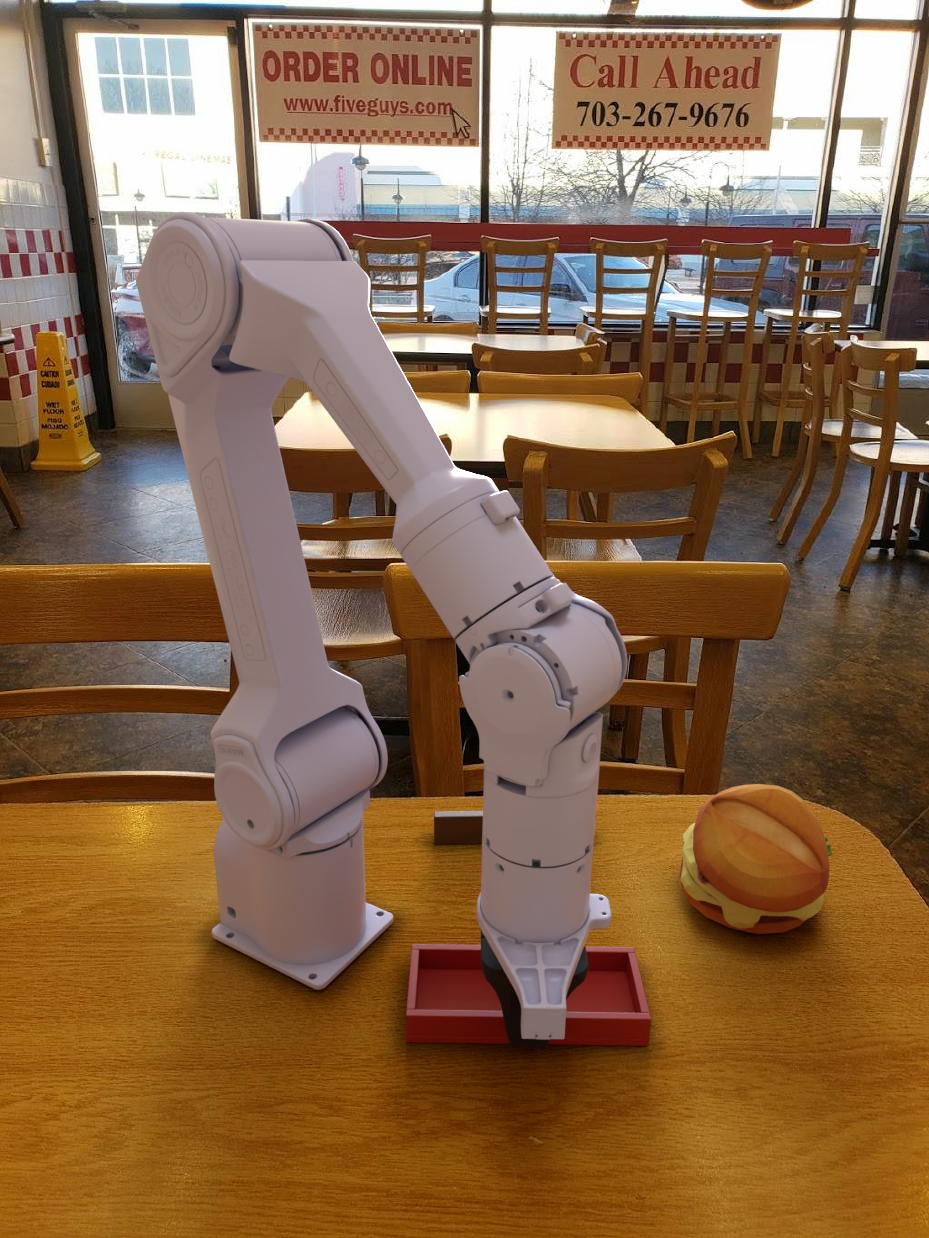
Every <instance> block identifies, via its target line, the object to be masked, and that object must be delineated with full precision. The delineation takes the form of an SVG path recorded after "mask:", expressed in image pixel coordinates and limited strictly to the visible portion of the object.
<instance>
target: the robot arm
mask: <svg viewBox="0 0 929 1238" xmlns="http://www.w3.org/2000/svg"><path fill="white" fill-rule="evenodd" d="M135 284H136V288H137V292H138V295H139V300H140V303H141V308H142V311H143V316H144V320H145V324H146V327H147V333H148V337H149V339H150V344H151V348H152V352H153V355H154V360H155V364H156V368H157V372H158V375H159V379H160V384H161V387H162V390H163V391H164V392H165V393H166V394H167V395H168V401H169V404H170V409H171V413H172V417H173V422H174V426H175V428H176V434H177V438H178V441H179V445H180V449H181V453H182V457H183V461H184V465H185V469H186V473H187V478H188V482H189V486H190V489H191V493H192V498H193V501H194V507H195V509H196V514H197V517H198V518H197V519H198V521H199V525H200V529H201V534H202V538H203V542H204V545H205V549H206V553H207V558H208V561H209V566H210V571H211V573H212V578H213V582H214V586H215V590H216V594H217V598H218V602H219V607H220V610H221V614H222V618H223V622H224V626H225V630H226V635H227V638H228V643H229V646H230V650H231V654H232V658H233V659H232V660H233V662H234V666H235V670H236V674H237V679H238V682H239V683H238V686H237V688H236V691H235V692H234V694H233V695H232V697H231V698H230V700H229V702H228V703H227V705H225V708H224V709H223V710H222V712H221V714H220V716H219V717H218V719H217V720H216V722H215V723H214V725H213V726H212V729H211V730H210V734H209V735H210V739H211V743H212V747H213V751H214V760H215V767H214V777H213V781H214V783H213V790H214V796H215V802H216V804H217V807H218V810H219V812H220V814H221V816H222V820H221V822H220V825H219V826H218V829H217V832H216V835H215V840H214V844H213V845H214V846H213V860H214V871H215V878H216V879H215V880H216V890H217V891H216V892H217V899H218V900H217V901H218V910H219V920H220V922H219V923H218V924H217V925H215V926H214V927H213V928H212V929H211V937H212V938H213V939H214V940H216V941H218V942H220V943H222V944H225V945H226V946H228V947H230V948H232V949H234V950H237V951H238V952H240V953H243V954H244V955H245V956H248V957H250V958H252V959H254V960H255V961H257V962H260V963H262V964H264V965H266V966H267V967H270V968H272V969H274V970H275V971H278V972H279V973H281V974H283V975H286V976H287V977H290V978H292V979H293V980H296V981H298V982H300V983H302V984H303V985H306V986H307V987H309V988H312V989H313V990H317V991H320V990H323V989H325V988H326V987H327V986H328V985H329V984H331V982H332V981H334V980H335V979H336V978H337V977H338V976H339V975H340V974H341V973H342V972H343V971H344V970H345V969H347V967H348V966H349V965H350V964H352V962H354V960H356V959H357V957H359V956H360V955H361V954H362V953H363V952H364V951H366V949H367V948H368V947H370V945H371V944H372V943H373V942H374V941H375V940H376V939H377V938H379V937H380V935H382V934H383V933H384V932H385V931H386V930H387V929H388V928H389V927H390V926H391V925H392V924H393V923H394V915H393V913H392V912H389V911H387V910H384V909H383V908H380V907H378V906H375V905H373V904H370V903H368V902H367V901H366V900H367V899H366V898H367V896H366V895H367V894H366V865H365V837H364V836H365V833H364V815H365V811H366V809H368V808H369V807H370V806H371V789H373V788H374V787H376V786H378V784H379V783H380V782H381V781H382V780H383V779H384V777H385V775H386V773H387V768H388V761H389V760H388V759H389V758H388V757H389V755H388V749H387V744H386V740H385V737H384V735H383V733H382V731H381V729H380V727H379V725H378V724H377V722H376V720H375V719H374V717H373V715H372V714H371V711H370V709H369V707H368V705H367V700H366V697H365V693H364V692H365V691H364V687H363V685H362V684H361V683H360V682H358V681H357V680H356V679H353V678H352V677H349V676H347V675H345V674H343V673H341V672H339V671H337V670H335V669H333V668H331V666H329V662H328V658H327V654H326V650H325V645H324V644H325V643H324V640H323V636H322V631H321V627H320V622H319V617H318V615H317V614H318V613H317V610H316V604H315V600H314V596H313V591H312V587H311V582H310V579H309V574H308V569H307V564H306V560H305V555H304V552H303V547H302V543H301V538H300V534H299V530H298V525H297V521H296V516H295V511H294V508H293V502H292V499H291V494H290V489H289V485H288V480H287V476H286V472H285V468H284V463H283V458H282V453H281V450H280V445H279V441H278V437H277V432H276V427H275V423H274V418H273V414H272V409H273V405H274V404H275V402H276V400H277V399H278V397H279V395H280V394H281V392H282V390H283V388H284V387H285V385H286V383H287V382H288V380H289V379H294V380H299V381H301V382H304V383H305V385H307V387H308V388H309V389H310V391H311V392H312V393H313V394H314V396H315V397H316V399H317V400H318V401H319V403H320V405H322V407H323V408H324V410H325V411H326V412H327V413H328V415H329V416H330V418H331V419H332V420H333V421H334V423H335V424H336V426H337V427H338V428H339V430H340V431H341V432H342V434H343V435H344V436H345V437H346V439H347V441H348V442H349V443H350V444H351V446H352V447H353V449H354V450H355V451H356V452H357V454H358V455H359V456H360V458H361V459H362V460H363V462H364V463H365V464H366V466H367V467H368V469H369V470H370V471H371V473H372V474H373V475H374V477H375V478H376V479H377V481H378V482H379V484H380V485H381V486H382V487H383V489H384V490H385V491H386V493H387V494H388V495H389V497H390V498H391V500H392V501H393V502H394V503H395V505H396V514H395V519H394V526H393V530H392V531H393V532H392V543H393V546H394V547H395V548H396V549H395V550H396V551H397V552H398V554H399V555H400V556H401V559H402V560H403V562H404V563H405V564H406V566H407V568H408V569H409V571H410V573H411V574H412V575H413V577H414V579H415V580H416V582H417V583H418V585H419V586H420V588H421V589H422V591H423V593H424V594H425V596H426V597H427V600H428V601H429V602H430V604H431V605H432V607H433V608H434V610H435V611H436V613H437V615H438V616H439V618H440V620H441V621H442V623H443V624H444V626H445V627H446V629H447V631H448V633H449V634H450V635H451V637H452V638H453V640H455V641H454V642H455V643H456V645H457V647H458V649H459V650H460V651H461V653H462V654H463V656H464V658H465V660H466V661H467V662H468V664H469V670H468V671H467V672H465V674H462V675H459V677H458V681H459V682H458V683H459V690H460V696H461V699H462V701H463V705H464V707H465V709H466V712H467V714H468V716H469V717H470V719H471V720H472V722H473V725H474V726H475V728H476V731H477V734H478V739H479V745H478V746H479V749H478V750H479V751H478V757H479V759H481V760H483V789H482V790H483V795H482V796H483V797H482V798H483V799H482V811H483V832H482V843H481V871H480V872H481V873H480V874H481V876H480V892H479V895H478V897H477V902H476V921H477V924H478V926H479V929H480V945H481V966H482V970H483V973H484V976H485V978H486V980H487V981H488V982H489V984H490V985H491V986H492V987H493V989H494V990H495V992H496V994H497V996H498V998H499V1001H500V1004H501V1008H502V1013H503V1018H504V1023H505V1029H506V1033H507V1037H508V1040H509V1043H510V1044H509V1045H510V1047H511V1048H512V1049H513V1048H515V1049H517V1048H518V1049H545V1048H547V1047H548V1045H549V1044H548V1043H549V1041H550V1039H564V1037H565V1022H566V1000H567V998H568V997H569V996H570V994H571V993H572V992H573V991H574V990H575V989H576V988H577V987H578V986H579V985H580V984H581V983H583V982H584V980H585V978H586V975H587V972H588V958H587V952H586V947H587V946H585V944H586V942H587V940H588V937H589V934H590V932H592V931H593V930H604V929H608V928H609V927H610V926H611V923H612V916H613V915H612V909H611V905H610V900H609V898H608V897H607V896H605V895H603V894H601V893H600V894H599V893H591V886H592V885H591V884H592V873H593V872H592V871H593V861H594V860H593V857H594V845H595V835H596V822H597V821H596V820H597V809H598V808H597V807H598V796H599V795H598V793H599V780H600V767H601V750H602V749H601V748H602V736H603V735H602V734H603V723H604V722H603V721H604V714H603V713H602V712H601V711H598V710H599V709H601V708H602V707H604V706H605V704H607V703H608V702H610V701H611V699H612V698H613V697H614V696H615V695H616V694H617V693H618V691H619V690H620V689H621V687H622V686H623V684H624V682H625V679H626V675H627V671H628V653H627V648H626V644H625V642H624V639H623V637H622V634H621V633H620V631H619V630H618V629H619V628H618V627H617V624H616V620H615V618H614V617H613V615H612V614H611V613H610V612H609V611H608V610H606V608H604V607H603V606H602V605H600V604H599V603H597V602H595V601H593V600H591V599H589V598H586V597H583V596H581V595H578V594H576V593H575V592H574V591H573V590H572V589H571V588H570V587H569V585H568V584H567V582H561V581H560V579H558V578H557V577H555V575H554V573H553V572H552V570H551V568H550V567H549V565H548V563H547V562H546V561H545V559H544V558H543V556H542V554H541V553H540V551H539V550H538V548H537V547H536V545H535V544H534V542H533V540H532V539H531V538H530V536H529V535H528V533H527V532H526V530H525V528H524V527H523V525H522V523H521V522H520V521H519V519H518V518H517V516H518V515H519V514H520V513H521V509H520V508H519V505H518V504H517V502H516V501H515V500H514V498H513V496H512V495H511V494H510V491H508V490H502V491H500V490H499V489H498V487H497V486H496V484H495V482H494V481H493V480H492V478H490V477H488V476H485V475H481V474H476V473H473V472H470V471H466V470H464V469H460V468H459V467H457V466H456V465H455V464H454V462H453V460H452V458H451V456H450V455H449V453H448V451H447V449H446V447H445V445H444V444H443V442H442V441H441V439H440V437H439V435H438V432H436V429H435V427H434V426H433V424H432V423H431V420H430V419H429V417H428V415H427V413H426V412H425V410H424V407H423V406H422V404H421V401H420V400H419V399H418V397H417V395H416V393H415V392H414V389H413V388H412V386H411V384H410V383H409V381H408V379H407V377H406V374H405V373H404V371H403V370H402V368H401V366H400V364H399V363H398V361H397V359H396V357H395V355H394V354H393V352H392V350H391V348H390V346H389V345H388V343H387V341H386V339H385V337H384V335H383V334H382V332H381V330H380V328H379V326H378V325H377V322H376V321H375V319H374V317H373V316H372V314H371V310H370V299H371V279H370V277H369V275H368V274H367V273H366V271H364V270H363V268H362V267H361V266H360V265H359V264H358V262H357V261H355V260H354V258H353V255H352V252H351V250H350V248H349V246H348V244H347V242H346V241H345V239H344V238H343V236H342V235H341V234H340V232H339V231H338V230H336V228H334V227H333V226H332V225H330V224H329V223H327V222H325V221H323V220H320V219H314V218H304V219H298V220H293V221H292V220H274V219H273V220H272V219H271V220H270V219H253V218H252V219H251V218H230V217H209V216H208V217H207V216H203V215H200V214H196V213H193V212H176V213H173V214H171V215H169V216H167V217H166V218H165V219H163V220H162V221H161V222H160V224H159V225H158V226H157V227H156V229H155V230H154V232H153V235H152V236H151V239H150V241H149V244H148V246H147V249H146V251H145V255H144V257H143V260H142V262H141V264H140V269H139V271H138V273H137V276H136V278H135Z"/></svg>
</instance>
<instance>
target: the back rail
mask: <svg viewBox="0 0 929 1238" xmlns="http://www.w3.org/2000/svg"><path fill="white" fill-rule="evenodd" d="M482 832H483V810H457V811H456V810H455V811H450V810H449V811H447V810H446V811H434V812H433V844H434V845H469V844H471V845H472V844H473V845H475V844H479V845H480V844H482Z"/></svg>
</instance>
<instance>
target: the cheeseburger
mask: <svg viewBox="0 0 929 1238" xmlns="http://www.w3.org/2000/svg"><path fill="white" fill-rule="evenodd" d="M682 838H683V840H682V841H681V842H682V844H683V845H682V851H681V855H682V858H681V865H680V870H679V871H680V872H679V880H680V885H681V888H682V890H683V892H684V894H685V897H686V899H687V902H688V903H689V904H690V905H691V906H692V907H693V908H694V909H696V910H697V911H698V912H699V913H701V914H702V915H703V916H704V917H705V918H707V919H709V920H712V921H713V922H716V923H718V924H720V925H723V926H724V927H726V928H729V929H731V930H737V931H742V932H747V933H751V934H755V935H759V934H760V935H761V934H762V935H763V934H783V933H786V932H788V931H790V930H792V929H795V928H798V927H800V926H802V925H803V924H804V922H805V921H807V920H808V919H810V918H813V917H814V916H815V915H817V914H818V913H819V912H820V911H821V910H822V907H823V904H824V900H825V895H824V894H825V893H826V891H827V888H828V884H829V880H830V879H829V878H830V871H831V870H830V859H829V857H831V856H832V855H833V853H832V845H831V844H830V843H827V842H828V841H829V840H828V837H825V835H824V831H823V829H822V827H821V824H820V822H819V820H818V819H817V817H816V816H815V814H814V812H812V810H811V809H810V807H809V806H808V804H807V803H806V801H805V800H804V799H803V798H801V797H800V796H799V795H798V794H796V793H795V792H794V791H793V790H790V789H787V788H785V787H782V786H781V785H780V786H779V785H777V784H776V785H773V784H765V783H764V784H763V783H753V784H751V783H750V784H742V785H737V786H731V787H729V788H726V789H723V790H721V791H719V792H718V793H716V794H715V795H713V796H712V797H711V798H710V799H709V800H707V801H706V802H705V803H704V804H703V805H701V807H700V808H699V810H698V813H697V816H696V820H695V821H694V822H693V823H692V824H690V825H689V826H688V828H687V829H686V830H685V831H684V833H683V834H682Z"/></svg>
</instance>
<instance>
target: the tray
mask: <svg viewBox="0 0 929 1238" xmlns="http://www.w3.org/2000/svg"><path fill="white" fill-rule="evenodd" d="M585 947H586V952H587V958H588V972H587V975H586V978H585V980H584V982H583V983H581V984H580V985H579V986H578V987H577V988H576V989H575V990H574V991H573V992H572V993H571V994H570V996H569V997H568V998H567V1000H566V1022H565V1037H564V1039H550V1041H549V1043H548V1045H561V1046H562V1045H564V1046H565V1045H567V1046H568V1045H569V1046H626V1047H627V1046H630V1047H631V1046H633V1047H636V1046H637V1047H647V1046H649V1044H650V1037H651V1027H652V1016H651V1011H650V1008H649V1003H648V999H647V994H646V991H645V986H644V983H643V979H642V974H641V970H640V965H639V961H638V957H637V953H636V947H634V946H633V947H631V946H585ZM410 950H411V951H410V961H409V974H408V984H407V985H408V986H407V998H406V1010H405V1042H406V1043H420V1044H421V1043H423V1044H425V1043H427V1044H429V1043H430V1044H431V1043H432V1044H491V1045H492V1044H495V1045H497V1044H498V1045H503V1044H504V1045H510V1043H509V1040H508V1037H507V1033H506V1029H505V1023H504V1018H503V1013H502V1008H501V1004H500V1001H499V998H498V996H497V994H496V992H495V990H494V989H493V987H492V986H491V985H490V984H489V982H488V981H487V980H486V978H485V976H484V973H483V970H482V966H481V944H436V943H435V944H434V943H432V944H431V943H430V944H429V943H428V944H427V943H412V944H411V949H410Z"/></svg>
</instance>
